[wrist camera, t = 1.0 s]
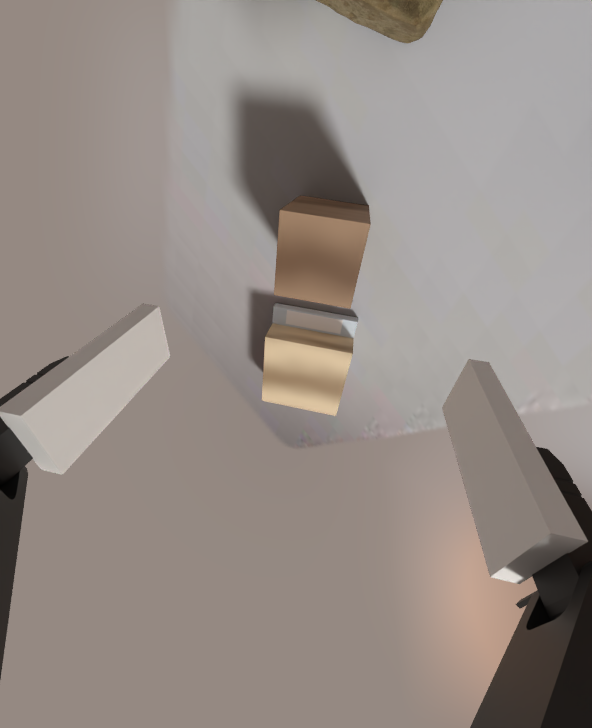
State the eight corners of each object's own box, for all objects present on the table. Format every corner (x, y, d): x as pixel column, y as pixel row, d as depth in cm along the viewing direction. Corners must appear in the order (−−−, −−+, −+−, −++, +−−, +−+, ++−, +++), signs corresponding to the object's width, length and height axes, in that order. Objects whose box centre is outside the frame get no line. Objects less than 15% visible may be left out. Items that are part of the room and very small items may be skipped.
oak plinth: (272, 323, 33) (265, 336, 30) (353, 338, 32) (352, 353, 30) (268, 384, 38) (261, 400, 36) (337, 398, 37) (335, 415, 35)
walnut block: (300, 195, 26) (279, 210, 20) (368, 205, 25) (370, 223, 19) (293, 263, 30) (274, 294, 23) (353, 273, 29) (350, 308, 23)
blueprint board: (275, 302, 32) (273, 307, 31) (357, 317, 32) (357, 322, 31) (269, 391, 40) (267, 396, 39) (335, 404, 39) (334, 410, 38)
